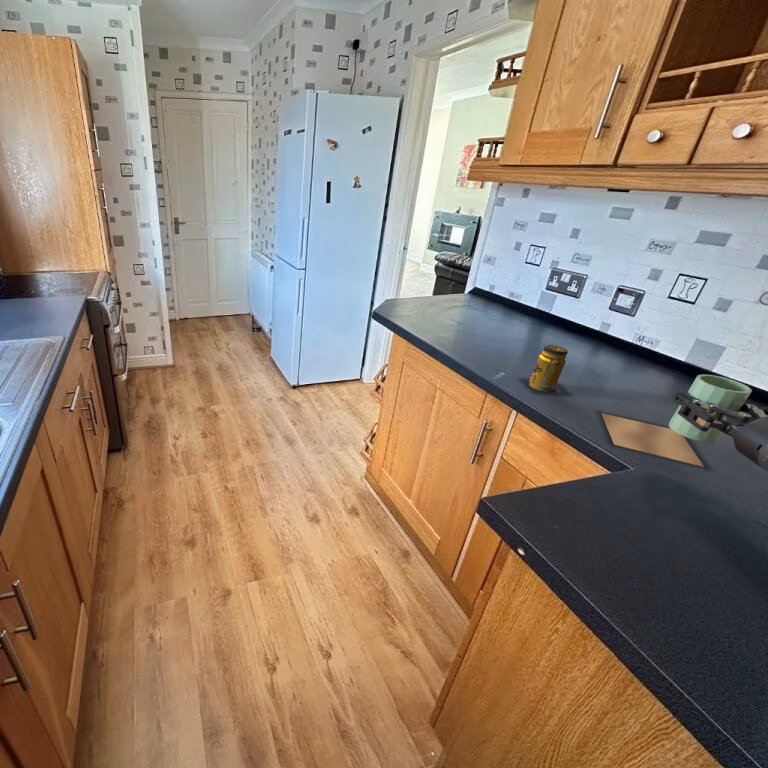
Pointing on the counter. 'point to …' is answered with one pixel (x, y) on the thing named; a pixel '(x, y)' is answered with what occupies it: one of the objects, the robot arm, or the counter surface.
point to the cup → (711, 393)
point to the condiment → (548, 368)
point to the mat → (650, 439)
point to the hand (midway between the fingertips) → (700, 397)
